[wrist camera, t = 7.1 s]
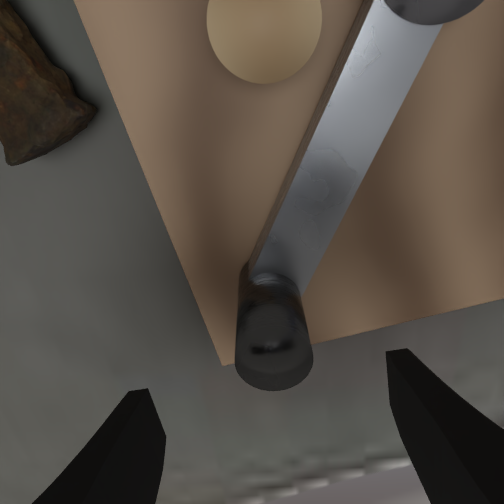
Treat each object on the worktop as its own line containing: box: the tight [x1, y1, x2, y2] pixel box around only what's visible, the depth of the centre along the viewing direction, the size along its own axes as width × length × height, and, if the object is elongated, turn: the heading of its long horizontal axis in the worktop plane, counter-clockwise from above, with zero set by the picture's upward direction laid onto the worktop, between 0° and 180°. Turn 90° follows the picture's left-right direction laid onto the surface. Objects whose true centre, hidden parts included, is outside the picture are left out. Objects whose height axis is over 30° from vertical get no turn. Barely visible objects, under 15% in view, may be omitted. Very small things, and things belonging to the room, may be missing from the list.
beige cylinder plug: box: [207, 0, 322, 84], centre depth 15 cm, size 4×4×3 cm
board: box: [74, 0, 504, 366], centre depth 17 cm, size 21×20×4 cm
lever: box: [234, 0, 484, 391], centre depth 15 cm, size 18×4×6 cm, turn 158°
